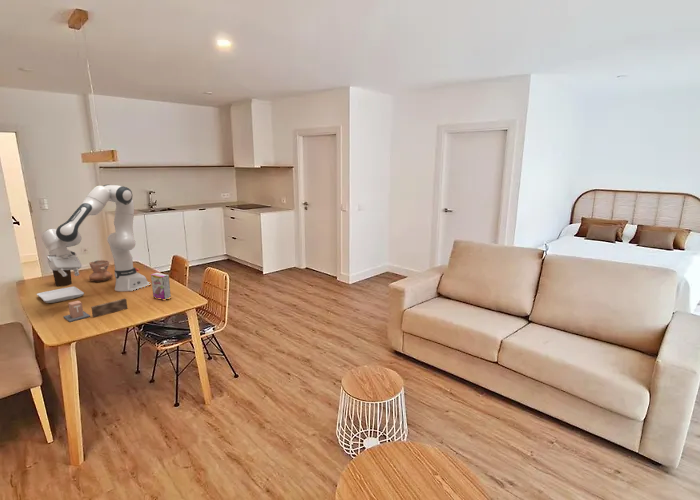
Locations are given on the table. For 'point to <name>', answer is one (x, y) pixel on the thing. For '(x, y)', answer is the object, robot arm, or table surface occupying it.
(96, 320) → the table surface
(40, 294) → the salad plate
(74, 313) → the pink block
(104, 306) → the walnut screen
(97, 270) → the ceramic jug
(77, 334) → the table surface
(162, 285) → the candy bar box
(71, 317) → the charcoal mat
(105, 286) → the table surface
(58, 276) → the olive oil
